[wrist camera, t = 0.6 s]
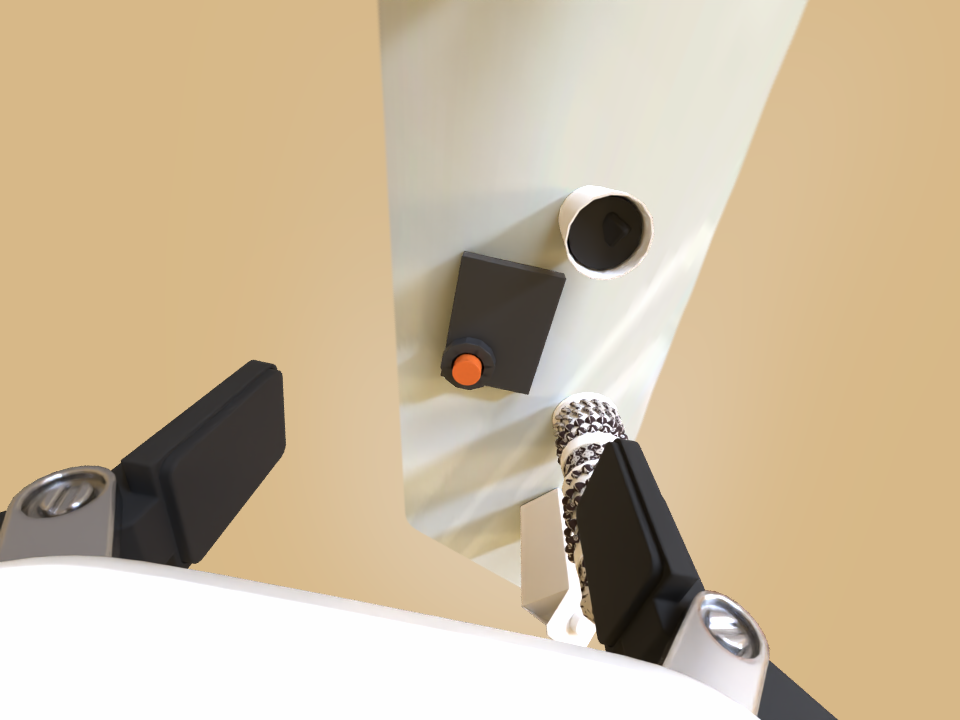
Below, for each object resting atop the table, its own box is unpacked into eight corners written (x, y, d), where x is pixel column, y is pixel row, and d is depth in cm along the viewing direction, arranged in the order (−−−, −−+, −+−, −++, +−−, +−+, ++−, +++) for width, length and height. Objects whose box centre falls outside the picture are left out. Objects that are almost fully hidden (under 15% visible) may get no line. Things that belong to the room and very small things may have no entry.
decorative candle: (564, 381, 48) (605, 578, 26) (633, 400, 48) (729, 609, 27) (539, 434, 52) (556, 641, 31) (603, 452, 53) (664, 666, 31)
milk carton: (547, 529, 62) (558, 670, 45) (519, 505, 59) (521, 643, 43) (584, 512, 59) (611, 655, 43) (557, 486, 57) (574, 626, 40)
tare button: (456, 350, 43) (454, 358, 42) (484, 357, 43) (483, 364, 42) (452, 374, 45) (449, 382, 43) (478, 380, 45) (477, 388, 43)
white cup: (589, 164, 36) (613, 170, 27) (636, 212, 38) (673, 233, 29) (539, 221, 39) (546, 243, 30) (586, 263, 40) (605, 296, 32)
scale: (463, 250, 41) (459, 259, 38) (564, 273, 41) (568, 283, 38) (442, 368, 48) (437, 383, 45) (527, 386, 49) (528, 402, 46)
